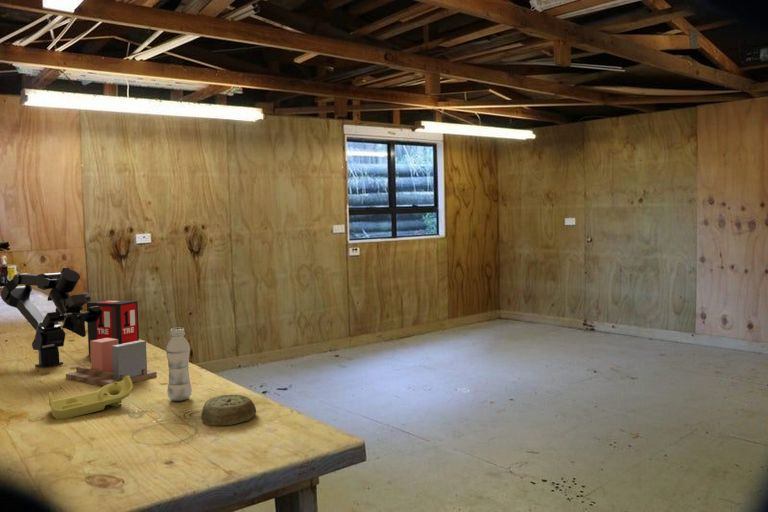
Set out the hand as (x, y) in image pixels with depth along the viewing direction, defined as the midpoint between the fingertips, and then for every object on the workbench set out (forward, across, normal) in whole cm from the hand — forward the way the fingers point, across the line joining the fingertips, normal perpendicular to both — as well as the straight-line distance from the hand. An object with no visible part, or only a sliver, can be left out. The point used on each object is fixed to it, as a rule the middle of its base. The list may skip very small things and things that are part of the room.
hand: (84, 336), depth 202 cm
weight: (+65, -11, -46) cm, 80 cm away
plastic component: (+38, -24, -20) cm, 49 cm away
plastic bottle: (+48, -6, -30) cm, 56 cm away
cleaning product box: (-5, +24, +22) cm, 33 cm away
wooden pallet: (+19, 0, -1) cm, 19 cm away
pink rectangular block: (+15, 0, 0) cm, 15 cm away
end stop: (+25, 0, -9) cm, 26 cm away
